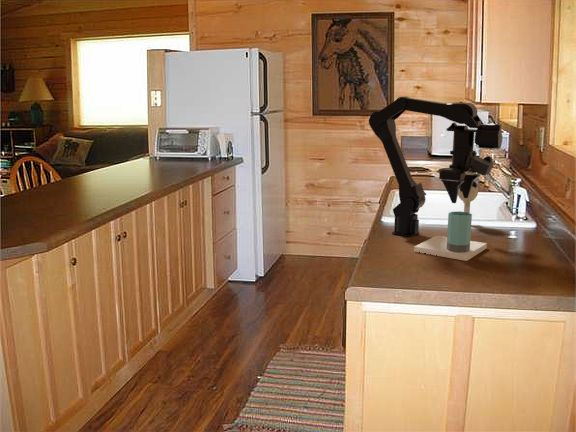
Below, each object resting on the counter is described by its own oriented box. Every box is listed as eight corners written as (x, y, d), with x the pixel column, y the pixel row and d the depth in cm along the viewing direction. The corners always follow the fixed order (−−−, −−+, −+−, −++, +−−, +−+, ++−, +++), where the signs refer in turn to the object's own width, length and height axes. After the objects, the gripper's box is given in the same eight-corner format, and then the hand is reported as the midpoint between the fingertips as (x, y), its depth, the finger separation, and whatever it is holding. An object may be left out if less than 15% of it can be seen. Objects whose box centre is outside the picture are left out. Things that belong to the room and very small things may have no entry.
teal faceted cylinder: (443, 250, 167) (445, 214, 165) (453, 245, 171) (455, 210, 169) (463, 253, 164) (465, 216, 161) (472, 249, 168) (474, 213, 166)
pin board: (414, 251, 171) (414, 234, 170) (436, 240, 183) (437, 224, 182) (466, 260, 162) (467, 242, 161) (486, 248, 174) (487, 231, 173)
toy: (477, 227, 199) (480, 181, 196) (456, 226, 200) (458, 180, 197) (474, 221, 207) (477, 177, 204) (454, 220, 208) (457, 176, 205)
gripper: (479, 152, 165) (475, 209, 168) (501, 146, 180) (498, 198, 183) (439, 149, 171) (437, 204, 175) (464, 143, 186) (461, 194, 189)
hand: (460, 200), depth 180 cm, fingers open, 9 cm apart
